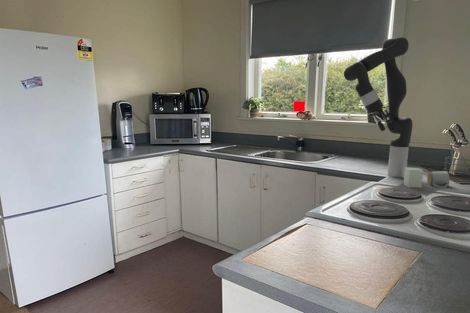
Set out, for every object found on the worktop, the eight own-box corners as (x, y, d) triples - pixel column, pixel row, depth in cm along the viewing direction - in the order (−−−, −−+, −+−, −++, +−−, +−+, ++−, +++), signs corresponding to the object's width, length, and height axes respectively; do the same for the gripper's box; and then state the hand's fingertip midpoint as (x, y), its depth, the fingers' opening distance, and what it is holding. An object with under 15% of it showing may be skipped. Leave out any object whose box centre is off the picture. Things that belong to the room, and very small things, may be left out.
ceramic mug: (425, 183, 168) (427, 169, 167) (443, 184, 167) (445, 170, 165) (432, 188, 158) (434, 173, 157) (451, 190, 156) (453, 174, 155)
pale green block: (408, 187, 158) (410, 169, 156) (403, 184, 164) (405, 167, 162) (421, 187, 157) (423, 170, 156) (416, 184, 163) (417, 167, 162)
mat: (405, 183, 167) (405, 182, 167) (440, 189, 156) (440, 188, 156) (389, 189, 154) (389, 188, 154) (426, 197, 142) (426, 195, 142)
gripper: (385, 95, 151) (402, 125, 152) (371, 99, 165) (387, 126, 166) (371, 103, 151) (388, 134, 152) (358, 106, 165) (374, 134, 166)
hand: (387, 130), depth 159 cm, fingers open, 8 cm apart
